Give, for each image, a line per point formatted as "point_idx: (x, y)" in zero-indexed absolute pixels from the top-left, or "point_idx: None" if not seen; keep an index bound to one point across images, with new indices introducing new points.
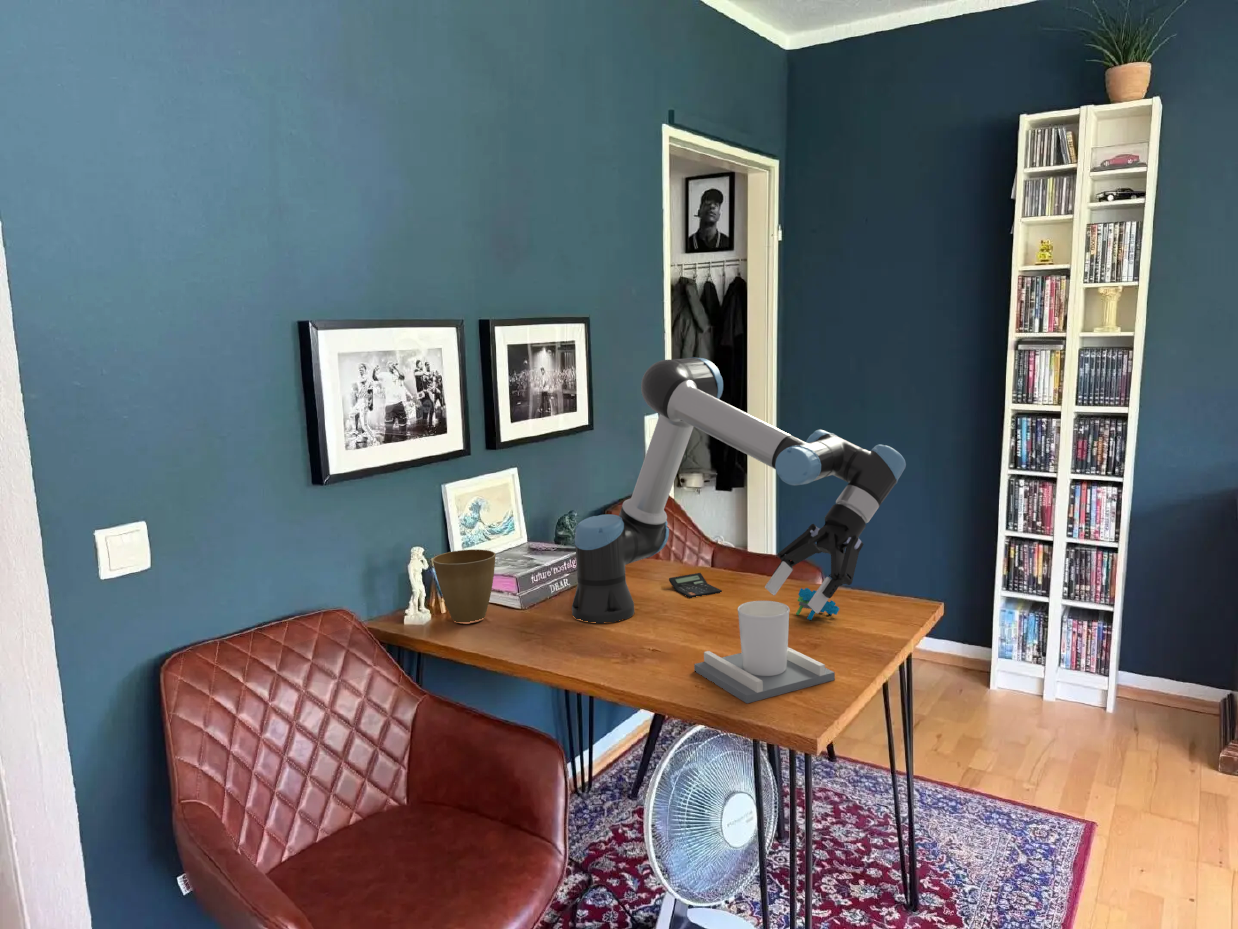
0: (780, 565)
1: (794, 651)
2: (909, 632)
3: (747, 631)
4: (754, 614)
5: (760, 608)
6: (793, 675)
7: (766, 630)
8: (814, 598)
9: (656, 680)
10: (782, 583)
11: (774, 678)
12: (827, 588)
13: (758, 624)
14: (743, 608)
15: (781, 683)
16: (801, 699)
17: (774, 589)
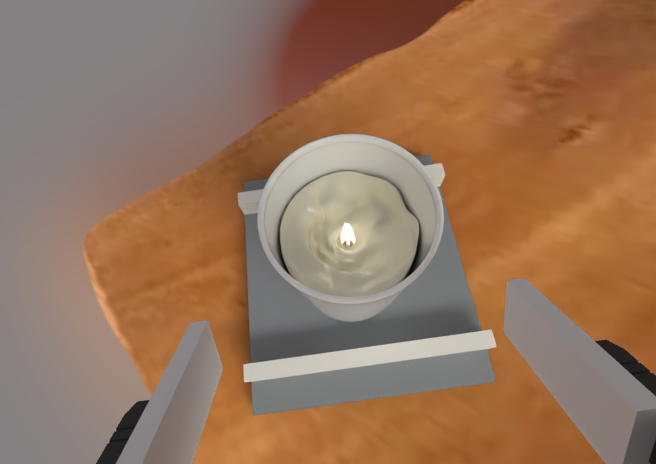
0: (628, 378)
1: (362, 358)
2: None
3: (323, 173)
4: (427, 233)
5: (429, 246)
6: (284, 309)
7: (279, 205)
8: (178, 348)
9: (410, 97)
10: (543, 379)
11: None
12: (132, 430)
13: (288, 177)
14: (420, 179)
15: (258, 264)
16: (211, 286)
17: (516, 328)
